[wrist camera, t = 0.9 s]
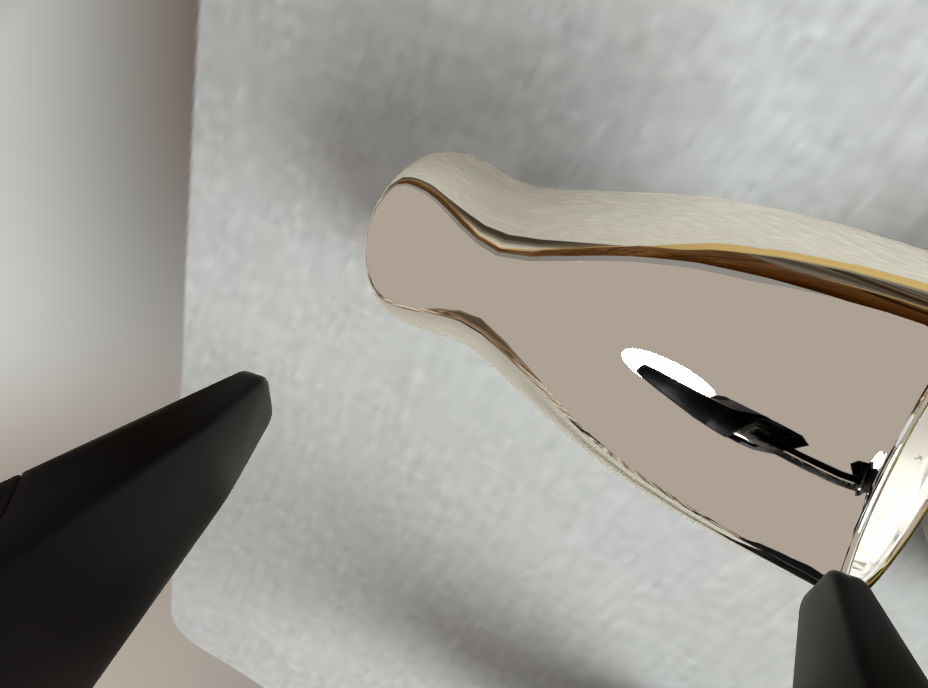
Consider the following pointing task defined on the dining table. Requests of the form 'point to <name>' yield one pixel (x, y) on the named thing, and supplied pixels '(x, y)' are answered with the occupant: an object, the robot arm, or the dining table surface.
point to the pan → (925, 526)
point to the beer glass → (687, 348)
